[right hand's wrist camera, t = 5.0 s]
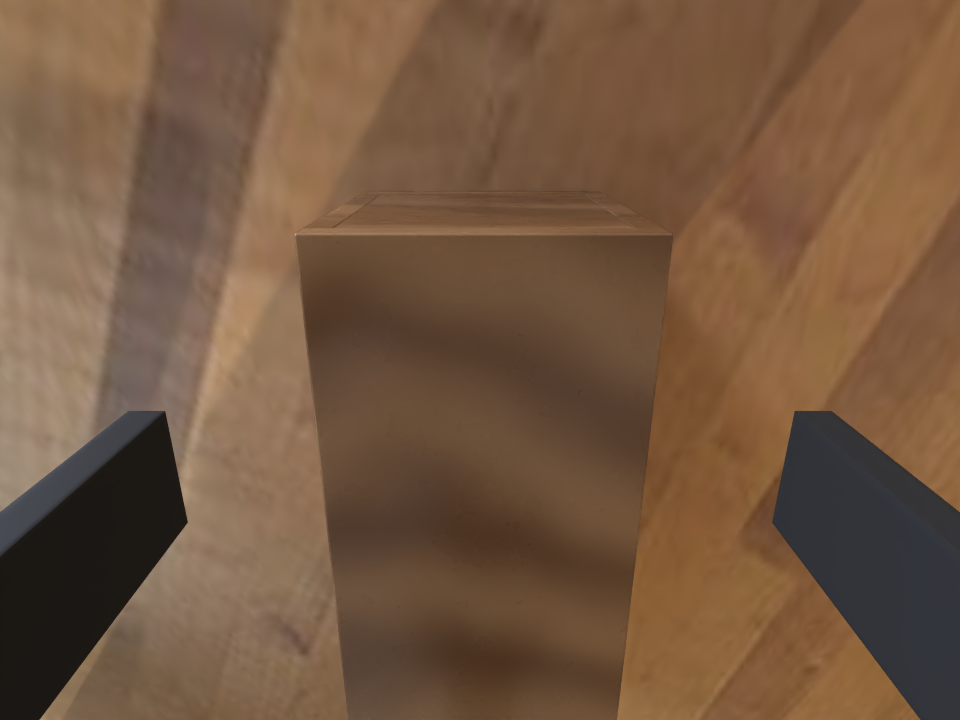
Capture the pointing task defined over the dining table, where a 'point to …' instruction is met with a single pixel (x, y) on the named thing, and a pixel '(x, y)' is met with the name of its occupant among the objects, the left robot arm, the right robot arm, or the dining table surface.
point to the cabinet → (483, 444)
